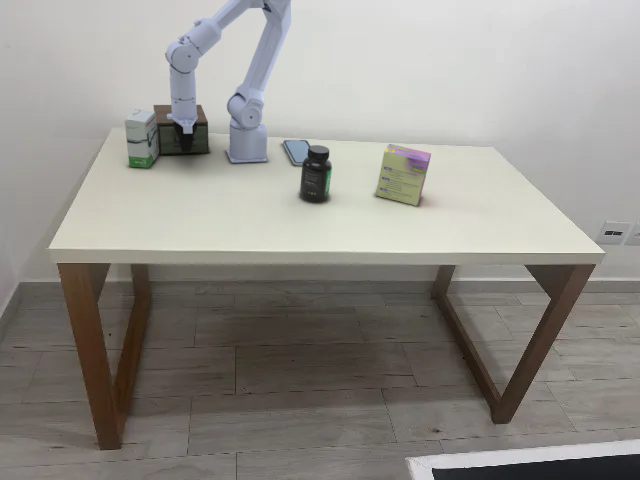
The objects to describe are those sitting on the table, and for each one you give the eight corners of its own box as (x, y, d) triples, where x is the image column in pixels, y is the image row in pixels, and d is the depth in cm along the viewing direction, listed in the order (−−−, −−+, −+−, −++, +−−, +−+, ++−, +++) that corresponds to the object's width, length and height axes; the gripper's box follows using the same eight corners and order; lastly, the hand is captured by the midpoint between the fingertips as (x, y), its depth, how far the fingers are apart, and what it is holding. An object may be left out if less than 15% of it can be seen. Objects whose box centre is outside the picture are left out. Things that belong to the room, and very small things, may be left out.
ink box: (149, 169, 121) (144, 122, 114) (128, 167, 120) (123, 119, 114) (159, 154, 128) (156, 109, 122) (140, 152, 128) (135, 107, 121)
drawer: (209, 158, 127) (208, 133, 123) (162, 160, 123) (160, 134, 120) (200, 134, 140) (199, 110, 136) (158, 135, 136) (156, 111, 133)
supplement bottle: (333, 200, 117) (339, 153, 110) (307, 205, 113) (312, 156, 107) (319, 187, 121) (324, 141, 115) (294, 192, 118) (298, 144, 112)
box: (421, 196, 123) (431, 152, 117) (417, 206, 118) (428, 161, 112) (380, 186, 125) (388, 142, 119) (375, 196, 121) (383, 151, 114)
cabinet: (208, 153, 132) (207, 122, 127) (159, 155, 128) (156, 122, 123) (201, 134, 142) (200, 104, 138) (155, 135, 138) (153, 104, 134)
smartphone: (294, 163, 130) (282, 140, 142) (294, 166, 130) (282, 143, 142) (321, 162, 132) (307, 139, 144) (320, 166, 133) (306, 142, 144)
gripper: (163, 87, 121) (167, 140, 128) (168, 106, 109) (172, 163, 117) (193, 87, 123) (195, 139, 130) (200, 106, 112) (202, 162, 119)
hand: (186, 150), depth 124 cm, fingers closed, pressing on drawer
